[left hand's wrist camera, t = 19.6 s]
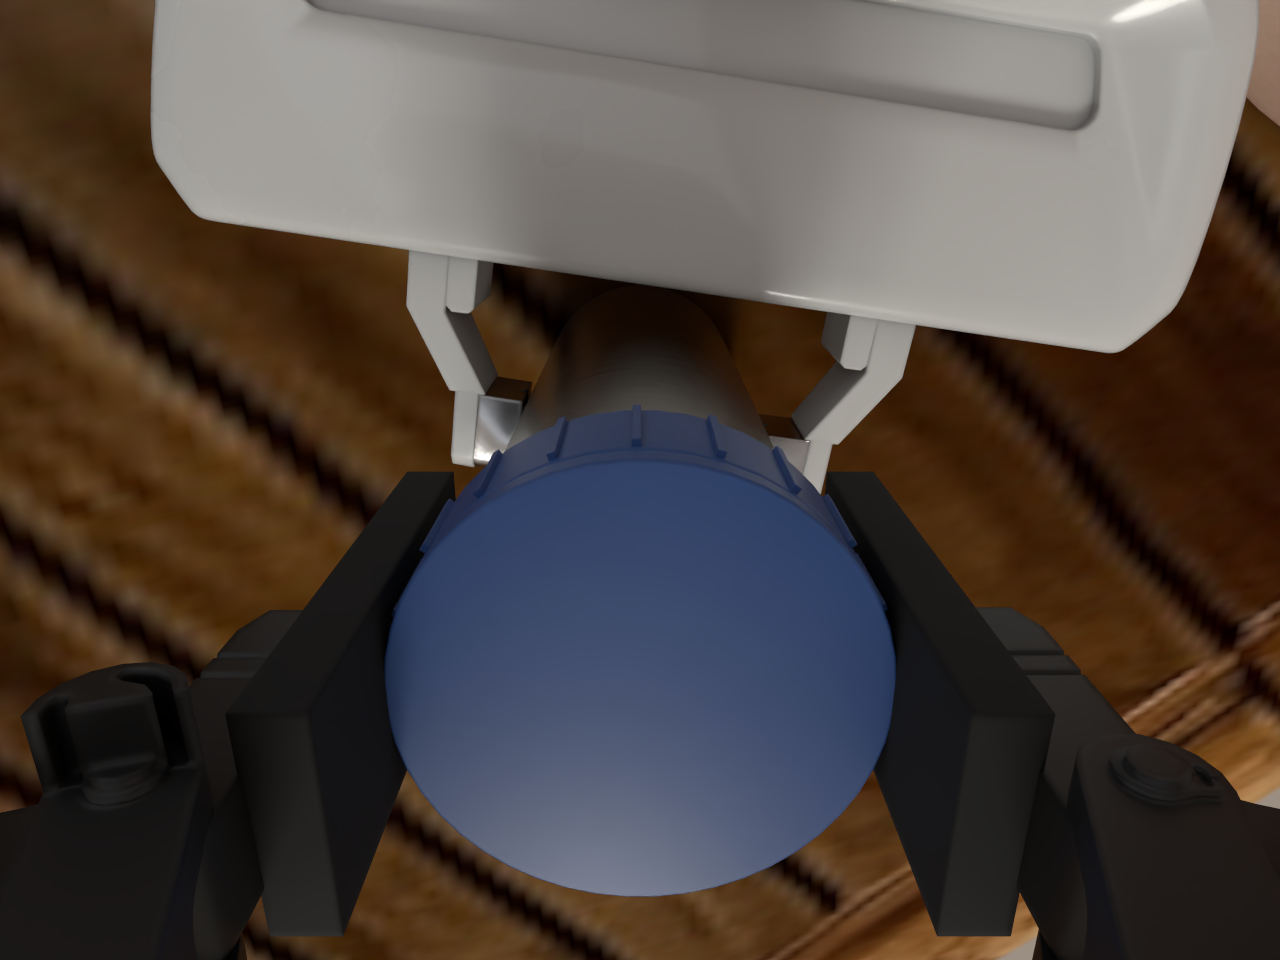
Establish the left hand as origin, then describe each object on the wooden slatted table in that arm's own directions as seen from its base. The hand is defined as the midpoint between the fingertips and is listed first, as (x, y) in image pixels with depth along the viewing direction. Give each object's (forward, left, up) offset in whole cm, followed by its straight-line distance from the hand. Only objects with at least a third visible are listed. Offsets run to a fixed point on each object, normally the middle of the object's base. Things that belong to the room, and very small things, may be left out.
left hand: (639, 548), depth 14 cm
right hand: (+1, -1, -6) cm, 6 cm away
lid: (0, 0, +4) cm, 4 cm away
